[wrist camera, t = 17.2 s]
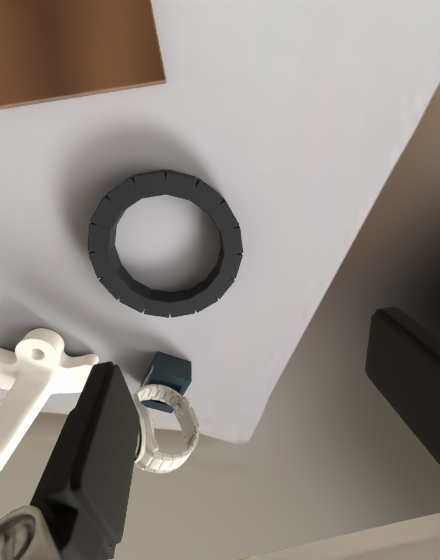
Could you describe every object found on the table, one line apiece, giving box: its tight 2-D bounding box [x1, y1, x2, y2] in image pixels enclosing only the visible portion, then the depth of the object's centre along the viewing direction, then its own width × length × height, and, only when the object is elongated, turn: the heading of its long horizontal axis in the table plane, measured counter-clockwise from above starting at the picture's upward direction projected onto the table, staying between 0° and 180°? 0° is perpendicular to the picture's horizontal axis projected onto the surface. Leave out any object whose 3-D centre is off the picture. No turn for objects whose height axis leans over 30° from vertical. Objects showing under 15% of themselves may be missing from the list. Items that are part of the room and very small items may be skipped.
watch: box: [132, 351, 200, 473], centre depth 29 cm, size 6×8×11 cm
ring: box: [88, 170, 243, 318], centre depth 26 cm, size 14×14×2 cm
